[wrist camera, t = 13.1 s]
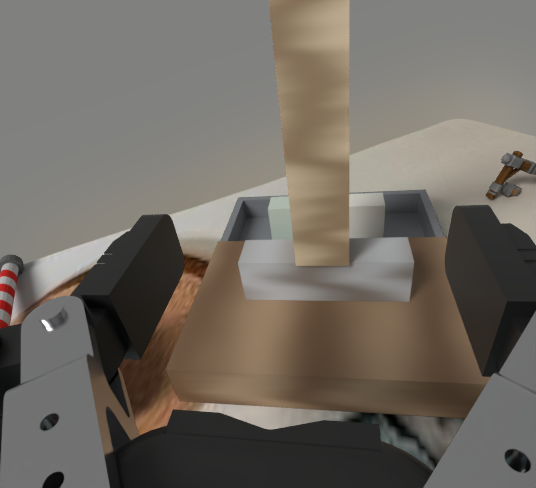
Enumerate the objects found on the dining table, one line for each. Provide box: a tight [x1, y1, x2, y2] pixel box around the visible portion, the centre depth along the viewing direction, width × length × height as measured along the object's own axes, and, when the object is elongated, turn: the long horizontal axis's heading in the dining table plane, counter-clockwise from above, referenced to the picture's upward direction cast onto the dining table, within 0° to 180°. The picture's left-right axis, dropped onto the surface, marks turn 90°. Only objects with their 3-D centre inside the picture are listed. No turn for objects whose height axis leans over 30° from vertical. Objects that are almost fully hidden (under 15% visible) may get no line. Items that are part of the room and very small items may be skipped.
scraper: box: [238, 0, 414, 302], centre depth 20 cm, size 10×3×16 cm, turn 82°
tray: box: [221, 190, 444, 241], centre depth 33 cm, size 17×8×2 cm, turn 82°
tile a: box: [349, 193, 385, 238], centre depth 31 cm, size 4×4×2 cm
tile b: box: [268, 196, 293, 240], centre depth 32 cm, size 4×4×2 cm
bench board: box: [165, 237, 491, 419], centre depth 25 cm, size 17×12×3 cm
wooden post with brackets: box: [486, 151, 536, 199], centre depth 36 cm, size 2×8×4 cm, turn 106°
